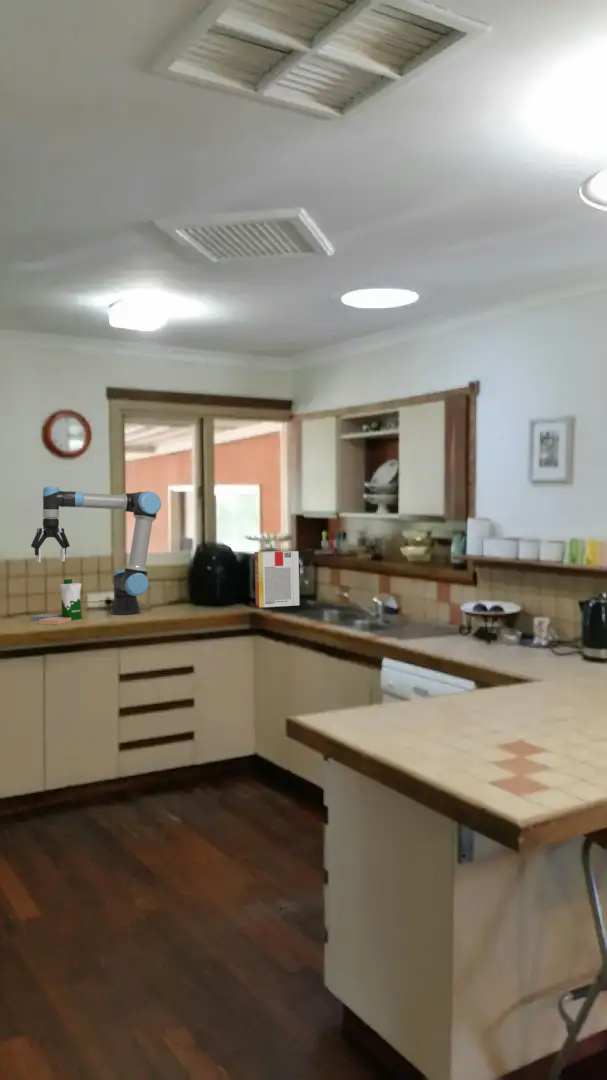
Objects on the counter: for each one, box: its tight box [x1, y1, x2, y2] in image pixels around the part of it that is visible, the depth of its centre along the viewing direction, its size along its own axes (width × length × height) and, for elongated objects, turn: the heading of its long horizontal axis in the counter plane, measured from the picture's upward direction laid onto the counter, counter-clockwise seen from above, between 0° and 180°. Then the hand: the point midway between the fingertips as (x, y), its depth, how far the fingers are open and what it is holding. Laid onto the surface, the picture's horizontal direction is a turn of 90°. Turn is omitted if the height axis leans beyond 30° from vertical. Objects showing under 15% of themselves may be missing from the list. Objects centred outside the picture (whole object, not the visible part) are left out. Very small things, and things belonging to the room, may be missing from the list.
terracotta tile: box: [38, 617, 72, 625], centre depth 418 cm, size 11×11×2 cm
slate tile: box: [29, 613, 62, 622], centre depth 431 cm, size 11×11×2 cm
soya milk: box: [59, 578, 83, 621], centre depth 430 cm, size 9×9×20 cm
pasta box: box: [254, 550, 300, 609], centre depth 472 cm, size 23×8×30 cm, turn 107°
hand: (50, 561), depth 417 cm, fingers open, 13 cm apart
